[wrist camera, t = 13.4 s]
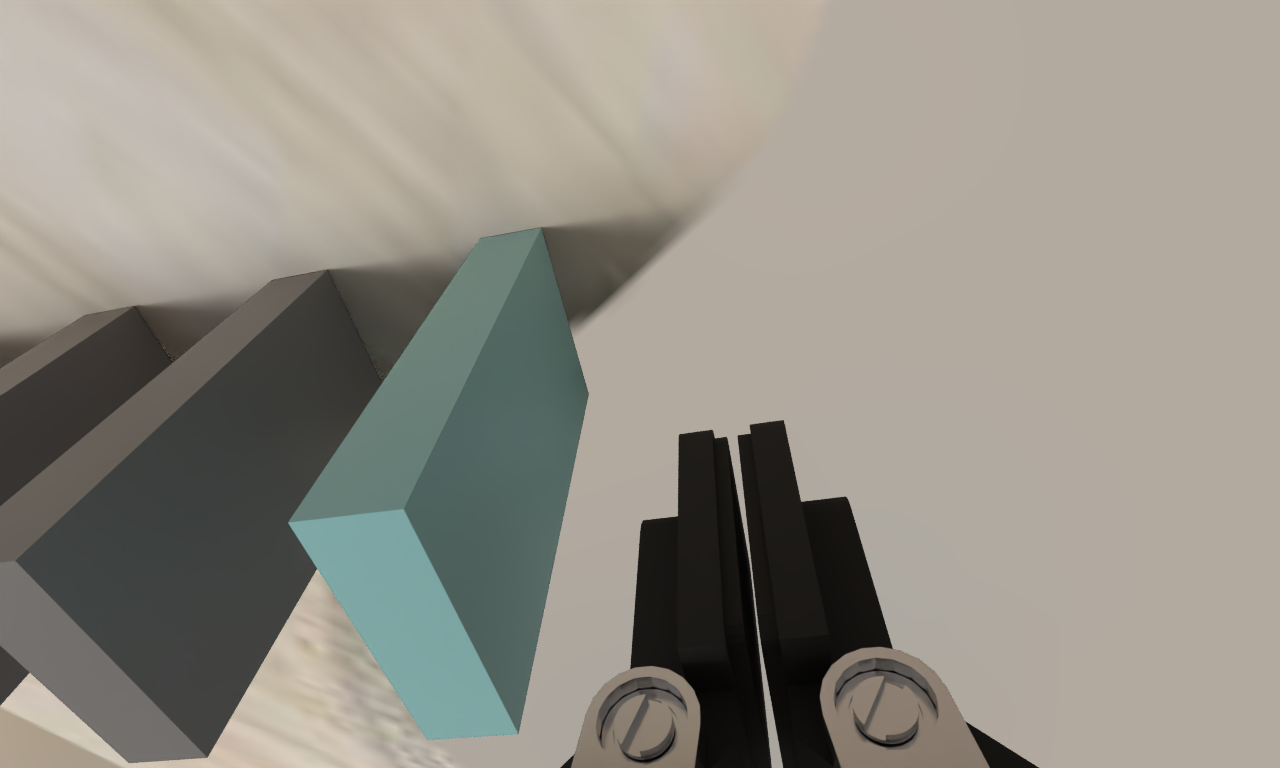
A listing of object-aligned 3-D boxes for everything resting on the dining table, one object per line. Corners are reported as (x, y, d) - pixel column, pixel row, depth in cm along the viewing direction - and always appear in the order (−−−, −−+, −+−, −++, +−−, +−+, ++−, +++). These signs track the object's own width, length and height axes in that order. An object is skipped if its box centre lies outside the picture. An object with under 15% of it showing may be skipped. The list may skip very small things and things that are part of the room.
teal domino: (534, 401, 20) (426, 739, 11) (479, 238, 17) (287, 522, 9) (588, 394, 20) (518, 734, 11) (541, 227, 17) (403, 509, 9)
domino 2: (327, 269, 18) (15, 560, 10) (401, 422, 21) (207, 757, 12) (272, 280, 18) (-80, 572, 10) (352, 430, 21) (128, 763, 12)
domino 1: (134, 306, 19) (-307, 600, 10) (228, 448, 21) (-63, 776, 13) (83, 315, 19) (-386, 610, 11) (183, 455, 22) (-132, 780, 13)
